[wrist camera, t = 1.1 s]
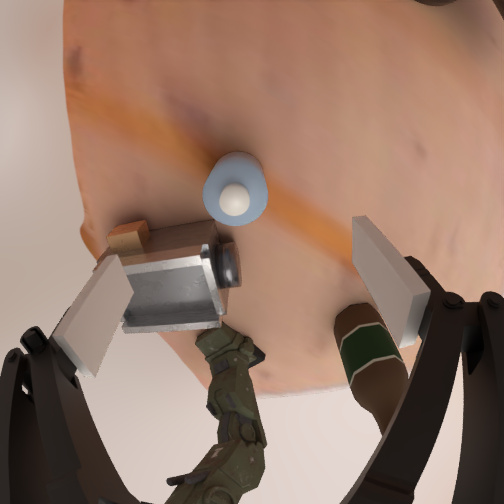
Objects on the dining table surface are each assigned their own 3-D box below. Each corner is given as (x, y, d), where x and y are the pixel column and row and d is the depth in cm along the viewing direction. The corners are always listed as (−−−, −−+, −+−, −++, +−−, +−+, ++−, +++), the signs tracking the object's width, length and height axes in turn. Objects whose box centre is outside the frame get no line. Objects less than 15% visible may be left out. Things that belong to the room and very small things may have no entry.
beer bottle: (381, 325, 41) (434, 453, 20) (338, 343, 42) (375, 478, 22) (373, 293, 37) (442, 439, 16) (325, 314, 39) (368, 470, 18)
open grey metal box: (228, 200, 30) (222, 230, 23) (244, 281, 36) (244, 324, 29) (111, 223, 31) (81, 255, 24) (139, 293, 37) (121, 333, 30)
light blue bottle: (259, 147, 28) (264, 162, 20) (266, 196, 30) (273, 228, 23) (207, 156, 28) (193, 175, 20) (217, 203, 31) (208, 238, 23)
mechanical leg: (285, 365, 43) (265, 539, 15) (252, 382, 46) (216, 538, 18) (229, 309, 41) (150, 496, 13) (198, 330, 43) (113, 492, 15)
